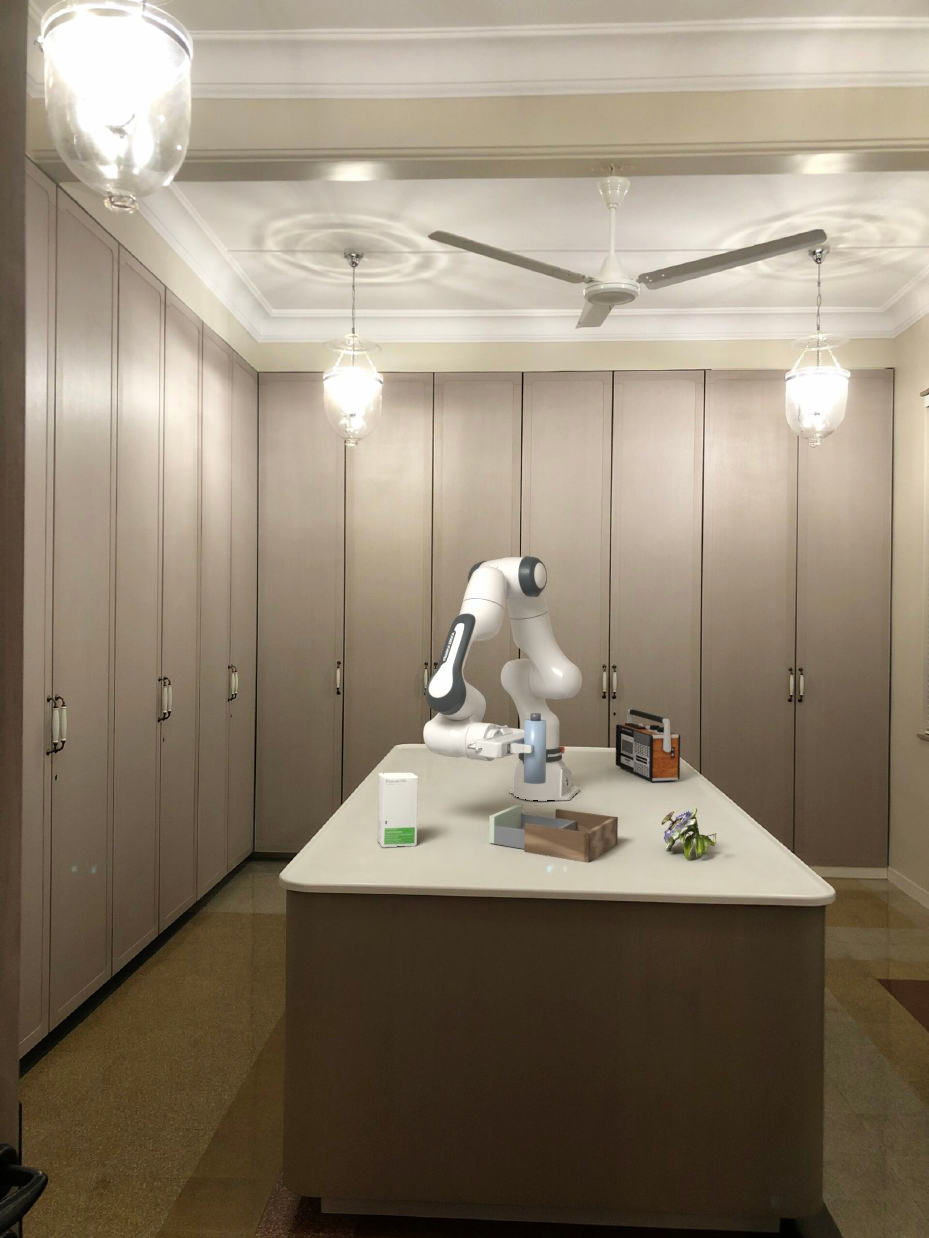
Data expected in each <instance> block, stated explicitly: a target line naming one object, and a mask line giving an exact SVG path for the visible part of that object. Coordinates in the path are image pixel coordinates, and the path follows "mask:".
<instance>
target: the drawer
mask: <svg viewBox="0 0 929 1238" xmlns="http://www.w3.org/2000/svg"><path fill="white" fill-rule="evenodd" d="M526 823H527V824H534V825H541V826H547V827H554V828H561V829H567V830H574V831H576V821H574V820H567V819H560V818H555V817H552V816H544V815H538V814H531V813H524V804H523V803H518V804H515V805H512V806H510V807H508V808H505V809H503V810H500V811H498V812H496V813H494V814H492V815H491V814H490V815H489V825H488V826H489V827H488V828H489V831H488V835H489V837H488V839H489V840H488V843H489V844H494V845H497V846H498V845H499V846H505V847H511V848H517V849H522V850H524V834H525V824H526Z"/></svg>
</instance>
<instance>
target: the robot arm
mask: <svg viewBox="0 0 929 1238" xmlns="http://www.w3.org/2000/svg"><path fill="white" fill-rule="evenodd" d="M547 582H548V573H547V568H546V566H545V564H544V562H542V561H541V559H540V558H538V557H535V556H529V555H527V556H523V557H522V556H510V557H502V558H497V559H492V560H483V561H482V560H481V561H479V562H476V563H475V564H473V565H472V567H471V568H470V570H469V572H468V575H467V586H466V589H465V592H464V596H463V599H462V602H461V603H462V604H461V607H460V611H459V614H458V615H457V616H456V617H455V618H454V620H453V621H452V623H451V625H450V628H449V631H448V632H447V636H446V638H445V639H446V640H445V642H444V645H443V647H442V651H441V654H440V657H439V659H438V662H437V665H436V668H435V669H434V672H433V674H432V675H431V676H430V678H429V680H428V682H427V684H426V687H425V692H424V695H425V701H426V703H427V705H428V706H429V707H430V709H432V710H433V711H434V712H437V714H436V715H435V716H434V717H433V718H432V719H430V720H428V721H427V722H426V723H425V725H424V727H423V735H422V736H423V741H424V744H425V746H426V748H427V749H428V750H429V751H430V752H431V753H433V754H436V755H438V756H443V757H444V756H445V757H448V758H449V757H450V758H457V759H458V758H463V757H465V758H467V759H470V760H477V761H485V762H492V761H493V760H495V759H502V758H506V757H509V756H513V755H517V754H518V759H519V760H518V762H516V764H515V765H514V772H513V782H512V784H513V785H512V788H509V791H508V793H509V792H511V793H513V794H514V795H513V794H512V795H513V796H514V797H515V796H516V797H515V798H517V797H519V798H518V799H520V800H525V799H526V800H527V801H533V800H538V801H537V802H548V801H547V800H555V801H570V800H572V799H573V798H574V797H575V796H576V795H577V794H578V793H579V792H580V791H579V790H580V789H581V788H580V787H579V786H577V785H574V784H572V783H573V782H572V781H573V780H572V779H573V777H572V775H573V774H572V771H571V769H570V768H569V767H568V766H567V765H566V763H565V762H564V761H563V760H562V759H563V755H562V754H565V752H566V751H565V750H566V747H565V746H564V745H562V746H560V720H559V718H558V716H557V715H556V714H555V713H553V711H552V710H550V708H549V706H548V704H547V701H546V700H547V699H548V700H564V699H566V700H567V699H571V698H575V696H577V695H578V693H579V692H580V690H581V687H582V683H583V676H582V672H581V671H580V668H579V667H578V666H577V665H576V664H574V663H573V662H572V661H571V660H570V659H569V658H568V657H567V656H566V655H565V654H564V652H563V650H561V647H560V646H559V644H558V643H557V640H556V638H555V635H554V631H553V628H552V623H551V619H550V618H551V617H550V611H549V607H548V603H547V598H546V594H545V592H544V590H545V588H546V586H547ZM506 606H507V612H508V616H509V623H510V627H511V633H512V639H513V642H514V644H515V646H516V647H517V648H518V649H520V650H521V651H523V652H524V654H526V656H527V657H528V658H523V657H522V658H517V659H512V660H509V661H507V662H505V664H504V665H503V667H502V669H501V672H500V683H501V685H502V688H503V689H504V690H505V691H506V693H508V695H510V697H511V698H512V701H513V702H514V704H515V707H516V710H517V713H518V718H519V728H514V727H509V726H508V725H507V724H497V723H496V724H494V723H489V722H483V721H484V718H485V715H486V712H487V706H488V705H487V700H486V699H487V698H485V696H484V694H482V692H481V691H479V690H478V689H477V688H476V687H474V686H473V685H471V684H470V683H469V682H467V680H466V679H465V675H464V668H465V665H466V661H467V658H468V656H469V652H470V649H471V646H472V644H473V643H474V642H483V641H489V640H490V639H493V638H494V637H496V636H497V635H498V634H499V632H500V629H501V628H502V625H503V621H504V617H505V613H506V612H505V611H506ZM530 713H541V720H546V782H545V783H543V784H529V783H525V782H524V753H532V752H533V751H534V745H532V744H524V724H525V720H527V719H530ZM511 793H510V794H511ZM576 793H577V794H576ZM575 794H576V795H575ZM573 796H574V797H573ZM572 797H573V798H572ZM526 800H525V801H526Z"/></svg>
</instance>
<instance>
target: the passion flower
mask: <svg viewBox="0 0 929 1238" xmlns="http://www.w3.org/2000/svg"><path fill="white" fill-rule="evenodd" d="M697 812H698V808H697V807H696V808H695V807H694V808H693V809H692V811H690V810H688V811H686V812H683V813H681V814H678V816H675V819H674V820H673V818H672V817H673V815H674V814H675V811H670V812H669V813H667V814H666V815H665V817H664V818H663V820H662V821H661V825H665V824H666V823H667V822H668V821H670V822H671V823H669V825H668V827H667V828H666V830H664V832H663V833H664V836H663V840H664V842H665V843H666V848H665V849H664V850H665V851H666V852H670V851H672V848H673V847H674V845H675V844H676V842H677V841H678V840H679V839H680V843H681V844H682V845H683V854H684V858H685V859H686V860H688V861H691V859H692V858H691V856H692V855H693V851H694V848H695V857H696V858H698V857H700V856H701V855H702V854H703V855H705V854H707V853H706V852H707V851H708V846H710V845H711V846H712V847H715V844H716V843H717V833H712V834H708V835H705V834H700V829H699V823H698V820H697V817H696V815H697ZM690 832H691V833H690ZM710 837H713V840H712V839H711V838H710ZM694 842H695V847H694Z"/></svg>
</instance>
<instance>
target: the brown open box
mask: <svg viewBox="0 0 929 1238" xmlns="http://www.w3.org/2000/svg"><path fill="white" fill-rule="evenodd" d="M554 816H555V817H554V818H560V819H567V820H574V821H576V831H574V830H567V829H561V828H554V827H547V826H541V825H534V824H527V823H526V824H525V834H524V849H523V850H524V851H525V852H524V853H529V854H530V853H531V854H535V853H536V855H541V854H542V855H543V856H547V855H549V857H554V858H559V859H560V858H561V859H565V858H566V860H571V859H573V860H572V861H577V862H578V861H579V862H582V863H583V862H585V863H591V860H592V861H593V860H595V859H596V858H598V857H600V854H601V855H602V854H604V853H606V852H607V851H608V850H610V849H611V848H614V847H615V845H618V841H619V840H618V829H619V823H618V822H619V817H618V816H611V815H606V814H605V815H604V814H599V813H598V814H597V813H589V812H582V811H575V810H568V809H560V808H556V809H555V815H554ZM609 848H610V849H609ZM594 858H595V859H594Z"/></svg>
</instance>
